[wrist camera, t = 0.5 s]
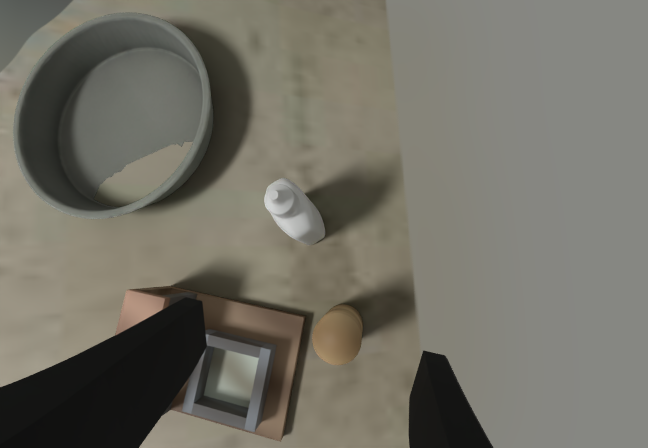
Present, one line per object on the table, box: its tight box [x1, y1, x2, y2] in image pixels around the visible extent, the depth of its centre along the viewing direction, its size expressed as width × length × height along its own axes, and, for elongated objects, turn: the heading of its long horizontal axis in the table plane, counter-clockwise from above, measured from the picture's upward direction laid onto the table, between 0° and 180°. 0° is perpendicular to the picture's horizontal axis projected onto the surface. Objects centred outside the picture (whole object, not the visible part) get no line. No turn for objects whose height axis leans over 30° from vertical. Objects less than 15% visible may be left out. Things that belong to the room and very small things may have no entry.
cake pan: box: [13, 13, 213, 219], centre depth 37 cm, size 25×25×4 cm
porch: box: [115, 286, 306, 442], centre depth 30 cm, size 12×16×6 cm
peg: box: [312, 304, 363, 365], centre depth 29 cm, size 4×4×7 cm
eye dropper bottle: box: [264, 178, 325, 245], centre depth 29 cm, size 4×6×12 cm
